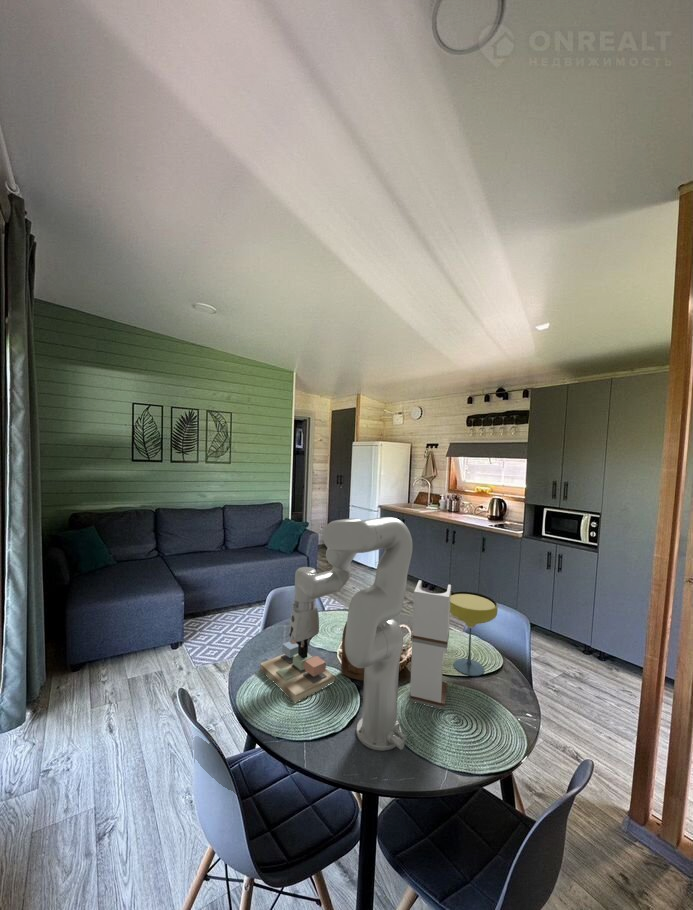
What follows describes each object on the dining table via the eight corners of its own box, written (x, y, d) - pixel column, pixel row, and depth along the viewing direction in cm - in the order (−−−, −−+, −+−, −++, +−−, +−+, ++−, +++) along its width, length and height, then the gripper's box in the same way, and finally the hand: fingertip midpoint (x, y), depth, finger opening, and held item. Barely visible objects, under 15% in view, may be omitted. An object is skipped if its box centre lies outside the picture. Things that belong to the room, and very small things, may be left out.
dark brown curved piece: (373, 672, 133) (375, 616, 133) (368, 684, 126) (370, 625, 126) (344, 665, 136) (346, 611, 136) (338, 677, 129) (340, 619, 129)
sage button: (312, 665, 130) (313, 656, 130) (301, 670, 126) (301, 661, 126) (304, 659, 134) (304, 650, 134) (292, 664, 130) (293, 655, 130)
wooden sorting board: (334, 683, 126) (335, 674, 125) (295, 703, 115) (295, 693, 115) (297, 655, 142) (297, 647, 142) (259, 670, 131) (260, 662, 131)
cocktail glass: (491, 658, 144) (494, 594, 144) (498, 686, 127) (501, 613, 127) (443, 651, 149) (445, 588, 149) (444, 677, 131) (446, 606, 131)
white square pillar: (444, 710, 114) (448, 596, 114) (409, 701, 117) (414, 591, 117) (446, 688, 125) (450, 584, 125) (415, 681, 128) (419, 580, 128)
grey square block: (301, 653, 135) (301, 645, 135) (289, 658, 132) (290, 649, 132) (293, 647, 139) (293, 639, 139) (282, 652, 135) (282, 643, 135)
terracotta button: (325, 671, 125) (325, 662, 125) (313, 676, 121) (313, 667, 121) (316, 664, 128) (316, 655, 128) (304, 669, 125) (304, 660, 125)
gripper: (292, 613, 122) (290, 668, 122) (328, 602, 132) (326, 653, 132) (280, 605, 128) (278, 658, 128) (315, 595, 138) (313, 644, 138)
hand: (302, 655), depth 130 cm, fingers closed
